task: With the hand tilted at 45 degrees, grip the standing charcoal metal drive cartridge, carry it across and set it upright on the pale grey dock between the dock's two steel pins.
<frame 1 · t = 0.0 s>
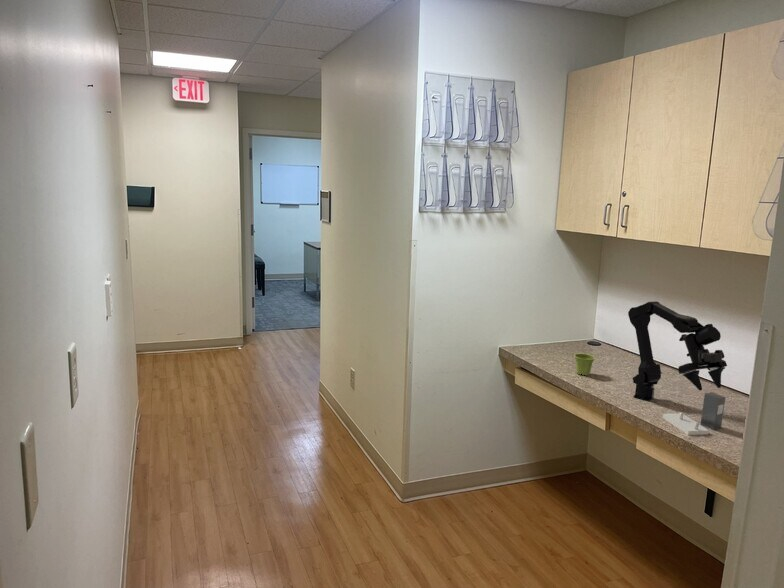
hand: (710, 389, 214), 15 cm above the table, tool tilted 35°, fingers open, 9 cm apart
drive: (710, 426, 217), on the table
plant pot: (582, 374, 275), on the table
dock: (688, 427, 216), on the table
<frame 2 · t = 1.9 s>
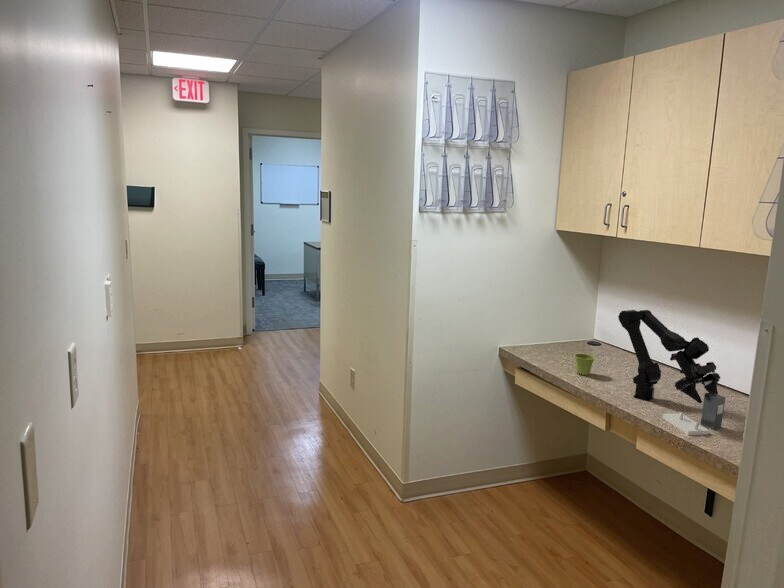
hand: (709, 401, 217), 9 cm above the table, tool tilted 45°, fingers open, 9 cm apart
nothing on the table moved.
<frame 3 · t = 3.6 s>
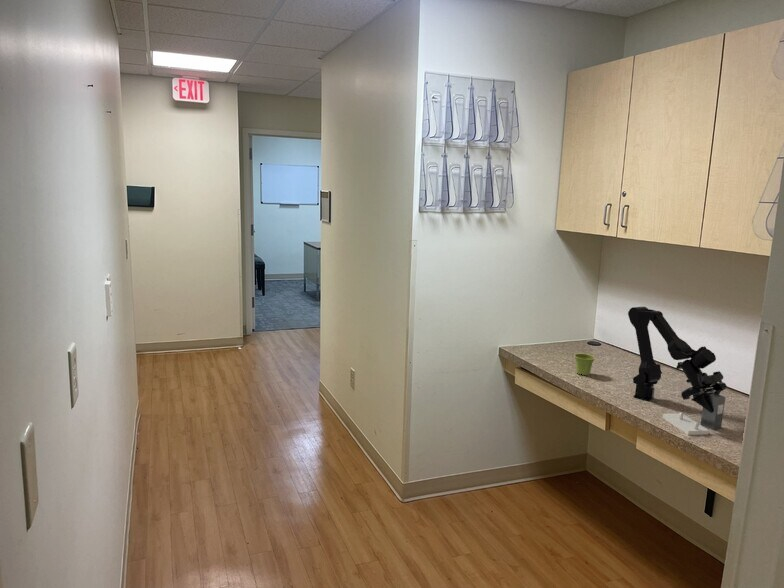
hand: (716, 411, 215), 7 cm above the table, tool tilted 45°, fingers closed on drive, 4 cm apart
drive: (710, 426, 217), on the table, touching gripper
everything else where it was.
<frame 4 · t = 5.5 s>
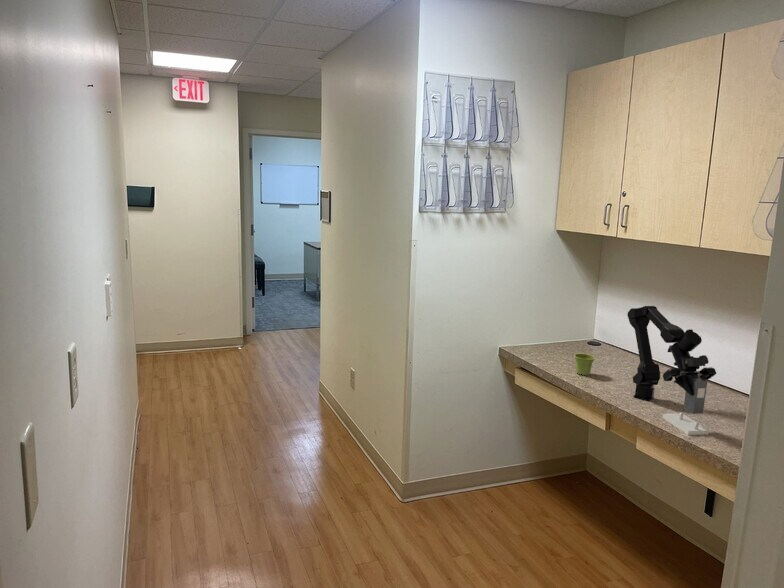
hand: (697, 395, 212), 13 cm above the table, tool tilted 45°, fingers closed on drive, 4 cm apart
drive: (693, 410, 214), point 7 cm above the table, touching gripper
everything else where it was.
when the fingers open (9 cm above the table, at t = 7.4 s): drive stays where it is, resting on dock.
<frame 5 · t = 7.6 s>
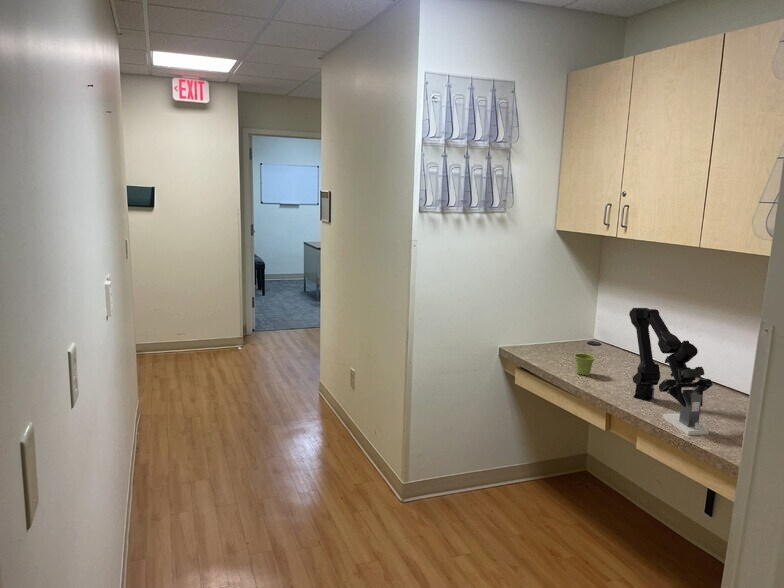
hand: (693, 406, 212), 9 cm above the table, tool tilted 45°, fingers open, 6 cm apart
drive: (688, 423, 215), point 2 cm above the table, touching dock
everything else where it was.
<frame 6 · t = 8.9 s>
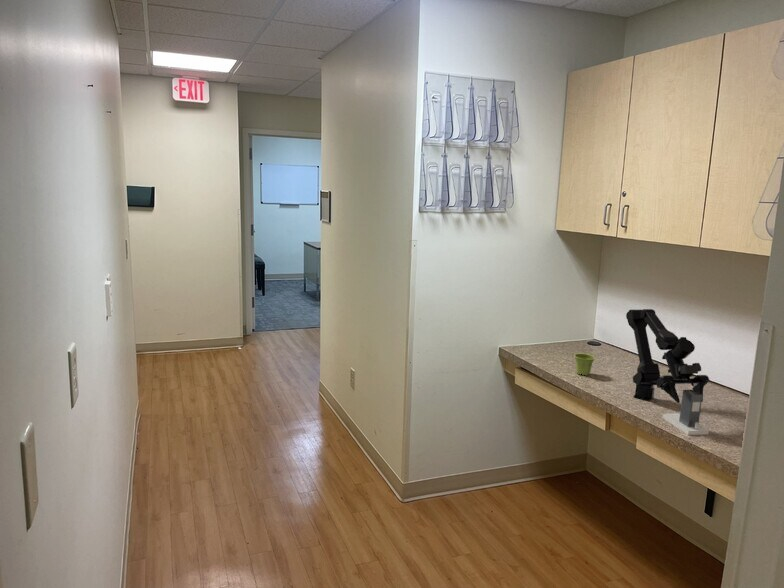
hand: (690, 402, 214), 10 cm above the table, tool tilted 45°, fingers open, 9 cm apart
nothing on the table moved.
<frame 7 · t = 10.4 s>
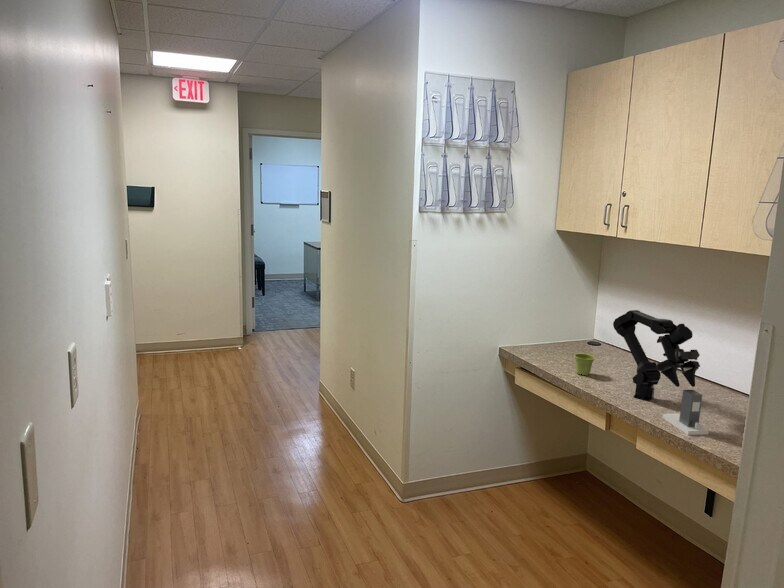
hand: (686, 386, 222), 13 cm above the table, tool tilted 40°, fingers open, 9 cm apart
nothing on the table moved.
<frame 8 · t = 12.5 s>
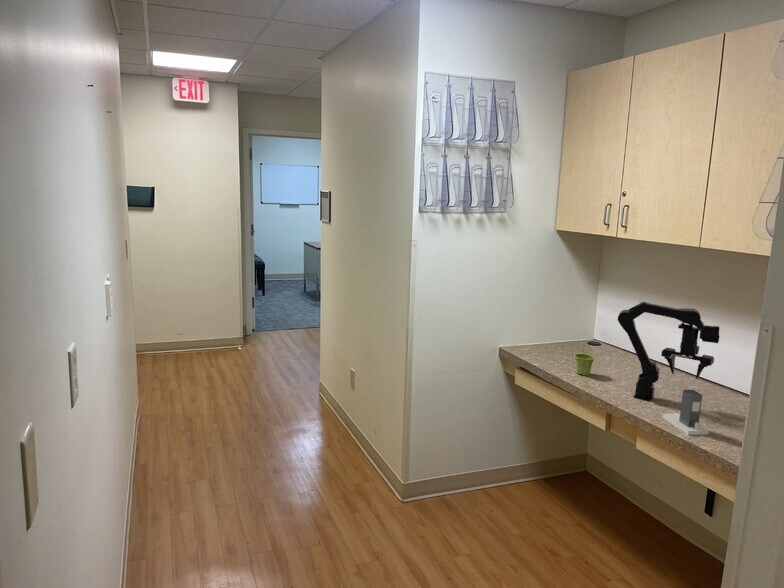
hand: (684, 376, 238), 12 cm above the table, tool pointing down, fingers open, 9 cm apart
nothing on the table moved.
at the end: drive 0.0 cm off-centre on the dock, point 1.5 cm above the dock's base; drive tilted 0°; the gripper is holding nothing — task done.
